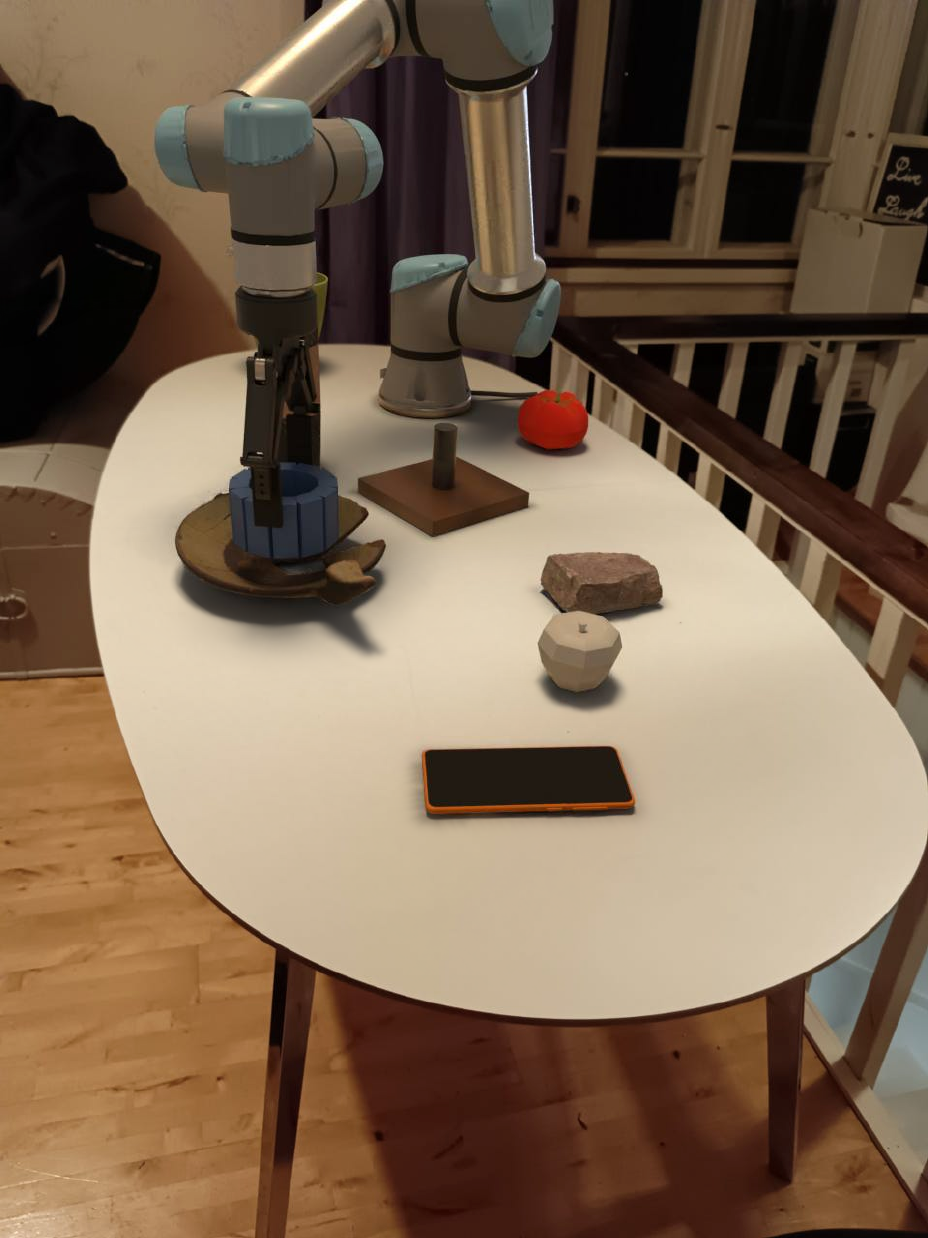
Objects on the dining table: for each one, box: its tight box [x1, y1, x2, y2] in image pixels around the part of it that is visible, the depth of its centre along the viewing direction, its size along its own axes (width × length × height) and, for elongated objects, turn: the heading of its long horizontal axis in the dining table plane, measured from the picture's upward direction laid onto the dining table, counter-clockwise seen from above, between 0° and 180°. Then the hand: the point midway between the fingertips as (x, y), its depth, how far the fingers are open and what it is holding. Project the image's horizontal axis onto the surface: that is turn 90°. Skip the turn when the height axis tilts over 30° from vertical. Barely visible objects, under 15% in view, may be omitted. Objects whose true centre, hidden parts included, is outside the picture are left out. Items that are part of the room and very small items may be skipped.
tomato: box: [516, 389, 589, 451], centre depth 144 cm, size 11×11×8 cm
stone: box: [540, 551, 664, 615], centre depth 104 cm, size 12×9×5 cm
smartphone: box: [421, 745, 636, 815], centre depth 78 cm, size 8×17×1 cm, turn 95°
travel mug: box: [262, 326, 322, 468], centre depth 126 cm, size 8×8×20 cm
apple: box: [537, 611, 623, 693], centre depth 89 cm, size 8×8×7 cm
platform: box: [357, 422, 530, 537], centre depth 123 cm, size 16×16×10 cm
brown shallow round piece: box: [174, 492, 387, 606], centre depth 103 cm, size 22×30×8 cm
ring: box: [228, 462, 339, 559], centre depth 100 cm, size 11×11×6 cm
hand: (286, 497), depth 100 cm, fingers open, 13 cm apart
